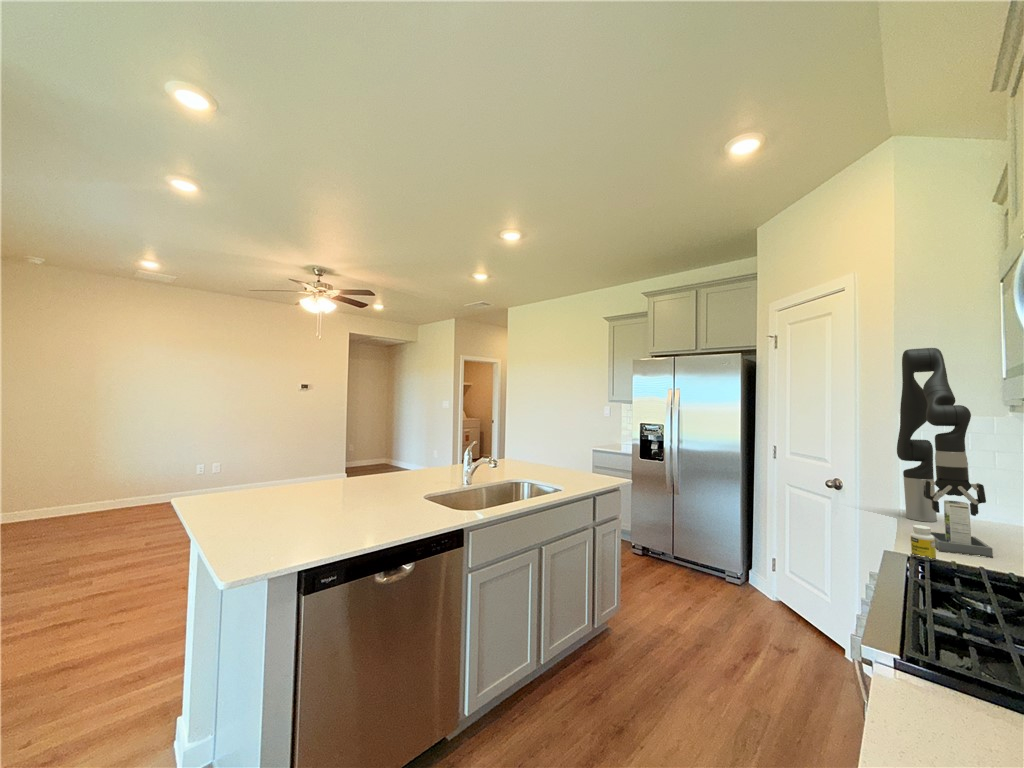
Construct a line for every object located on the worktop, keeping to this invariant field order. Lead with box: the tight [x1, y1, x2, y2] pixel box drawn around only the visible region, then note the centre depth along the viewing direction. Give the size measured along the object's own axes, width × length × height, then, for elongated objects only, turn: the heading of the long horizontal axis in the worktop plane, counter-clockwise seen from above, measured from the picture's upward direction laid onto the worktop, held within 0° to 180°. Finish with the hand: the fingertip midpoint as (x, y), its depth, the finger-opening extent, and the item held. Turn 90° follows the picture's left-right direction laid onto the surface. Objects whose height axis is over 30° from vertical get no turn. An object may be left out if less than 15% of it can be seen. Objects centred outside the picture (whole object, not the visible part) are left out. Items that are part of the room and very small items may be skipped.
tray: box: [930, 531, 994, 559], centre depth 139 cm, size 14×12×3 cm
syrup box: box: [943, 499, 972, 545], centre depth 139 cm, size 6×6×14 cm
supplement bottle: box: [910, 524, 937, 560], centre depth 130 cm, size 5×5×10 cm
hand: (954, 513), depth 140 cm, fingers open, 8 cm apart
